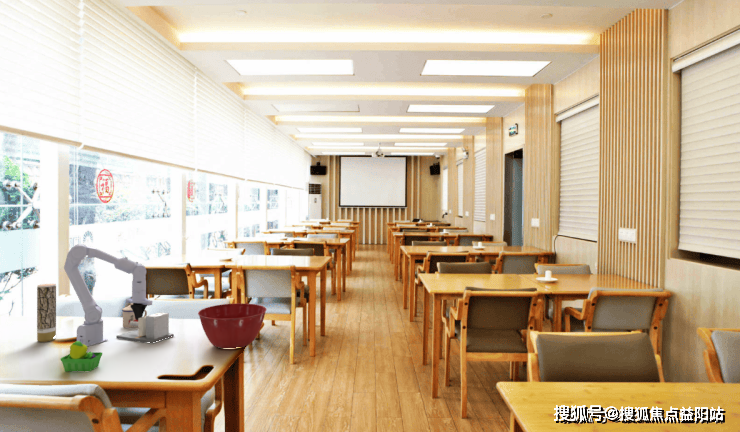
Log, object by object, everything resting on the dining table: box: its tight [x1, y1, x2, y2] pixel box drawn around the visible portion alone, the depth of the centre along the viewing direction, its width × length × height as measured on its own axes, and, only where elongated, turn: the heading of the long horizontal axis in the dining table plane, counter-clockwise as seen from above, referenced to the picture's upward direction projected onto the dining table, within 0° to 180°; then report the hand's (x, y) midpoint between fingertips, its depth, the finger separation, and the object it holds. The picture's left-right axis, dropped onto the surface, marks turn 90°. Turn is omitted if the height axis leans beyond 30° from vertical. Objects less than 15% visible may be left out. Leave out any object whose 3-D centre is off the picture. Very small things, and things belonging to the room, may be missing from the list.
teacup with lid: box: [122, 303, 148, 329], centre depth 219 cm, size 12×9×12 cm
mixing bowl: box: [197, 302, 267, 349], centre depth 187 cm, size 28×28×16 cm
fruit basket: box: [60, 340, 103, 373], centre depth 157 cm, size 11×9×11 cm
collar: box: [137, 316, 146, 336], centre depth 198 cm, size 7×2×8 cm, turn 159°
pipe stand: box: [129, 312, 170, 340], centre depth 198 cm, size 8×19×10 cm, turn 69°
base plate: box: [116, 329, 174, 344], centre depth 198 cm, size 12×22×1 cm, turn 69°
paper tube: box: [36, 283, 57, 343], centre depth 193 cm, size 7×7×25 cm
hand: (138, 319), depth 199 cm, fingers closed
